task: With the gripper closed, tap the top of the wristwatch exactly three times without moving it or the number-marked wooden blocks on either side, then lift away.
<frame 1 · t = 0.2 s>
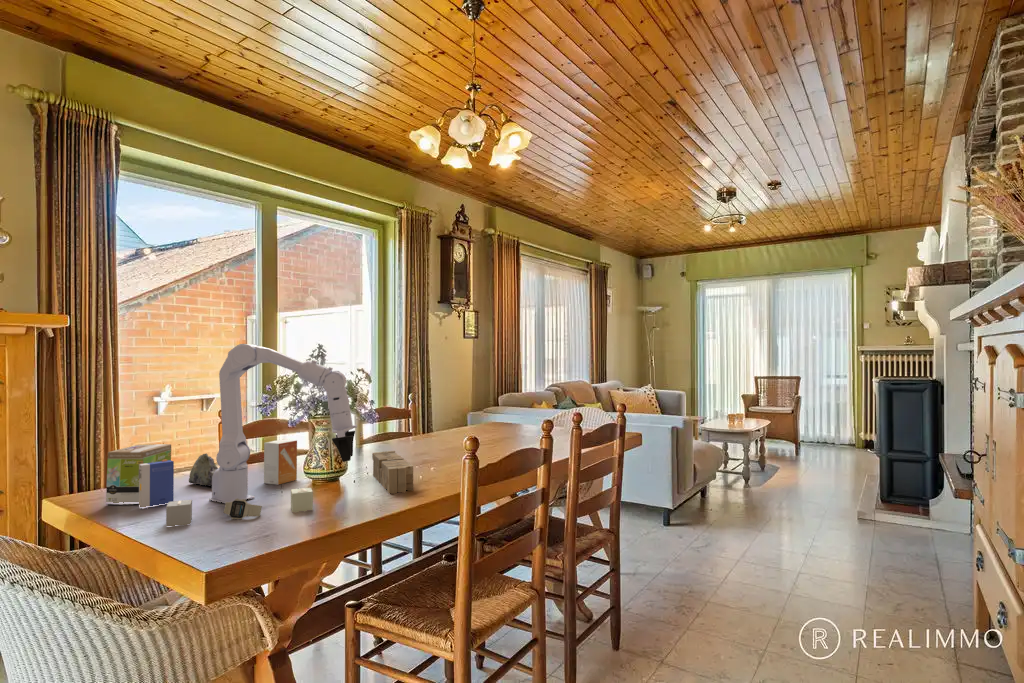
hand: (347, 458, 166), 10 cm above the table, tool pointing down, fingers open, 7 cm apart
small box: (280, 482, 184), on the table
block marked 1: (179, 523, 139), on the table
blue carton: (156, 506, 156), on the table
tea box: (139, 499, 163), on the table
block tower: (392, 484, 182), on the table
wristwatch: (243, 517, 145), on the table
block marked 7: (301, 509, 151), on the table
mineral rock: (205, 486, 179), on the table
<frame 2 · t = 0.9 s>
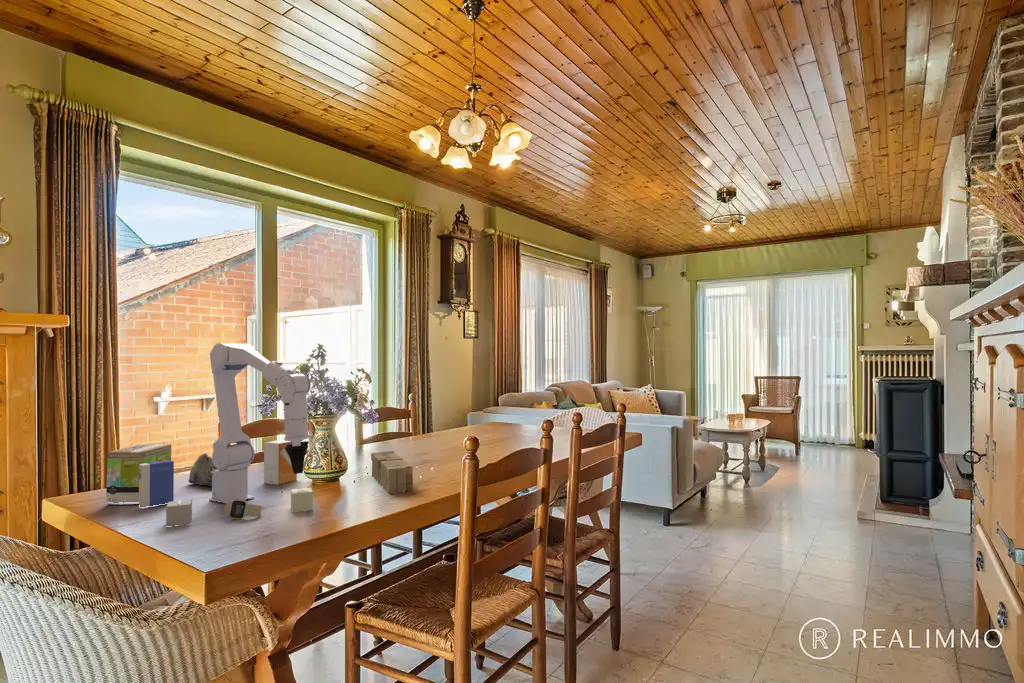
hand: (298, 471, 151), 10 cm above the table, tool pointing down, fingers open, 7 cm apart
nothing on the table moved.
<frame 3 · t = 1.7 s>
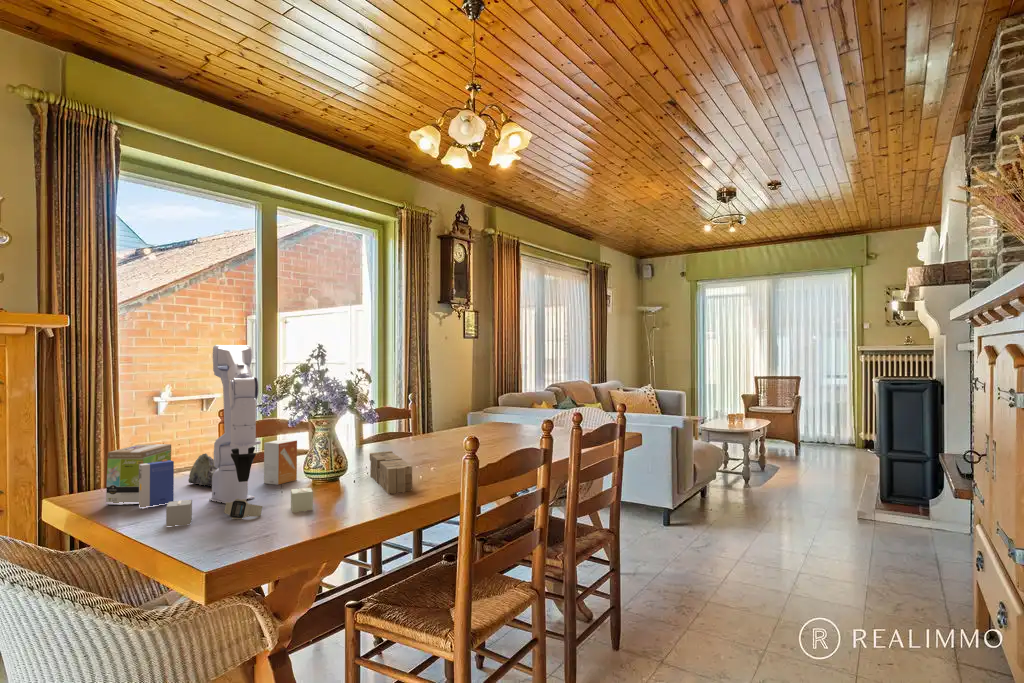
hand: (243, 478, 145), 9 cm above the table, tool pointing down, fingers open, 7 cm apart
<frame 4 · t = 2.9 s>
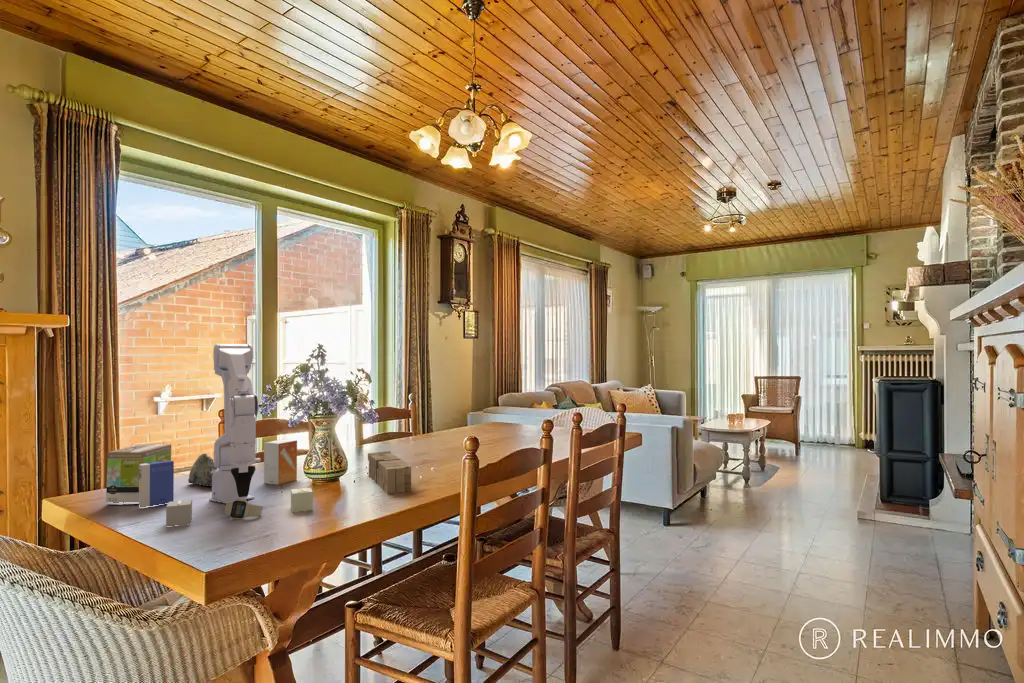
hand: (243, 496, 145), 5 cm above the table, tool pointing down, fingers closed
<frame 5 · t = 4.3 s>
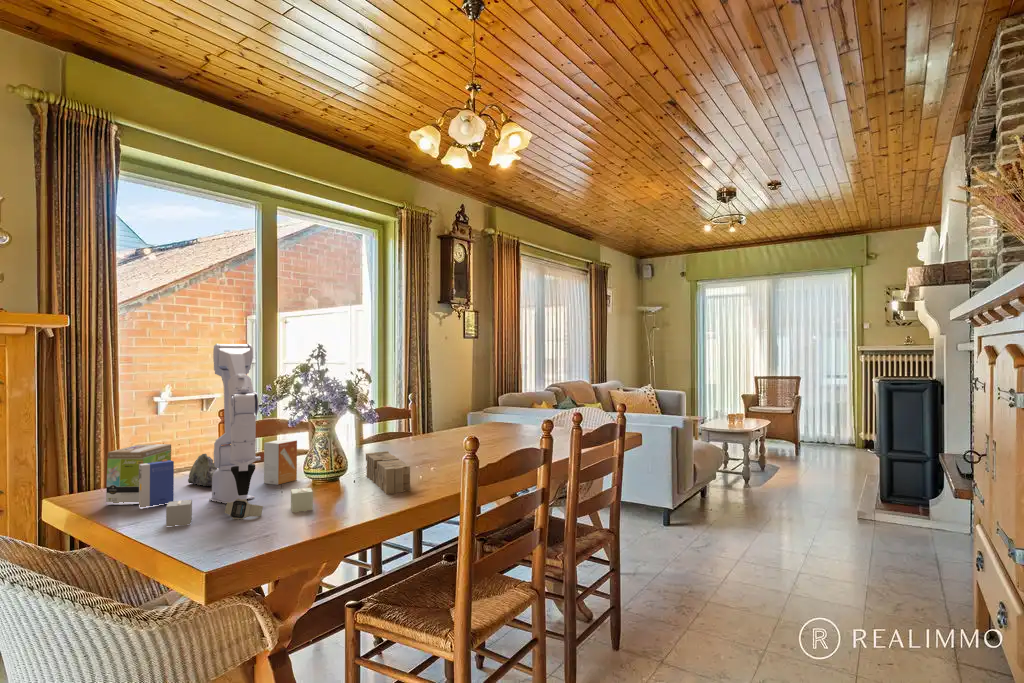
hand: (243, 494, 145), 5 cm above the table, tool pointing down, fingers closed
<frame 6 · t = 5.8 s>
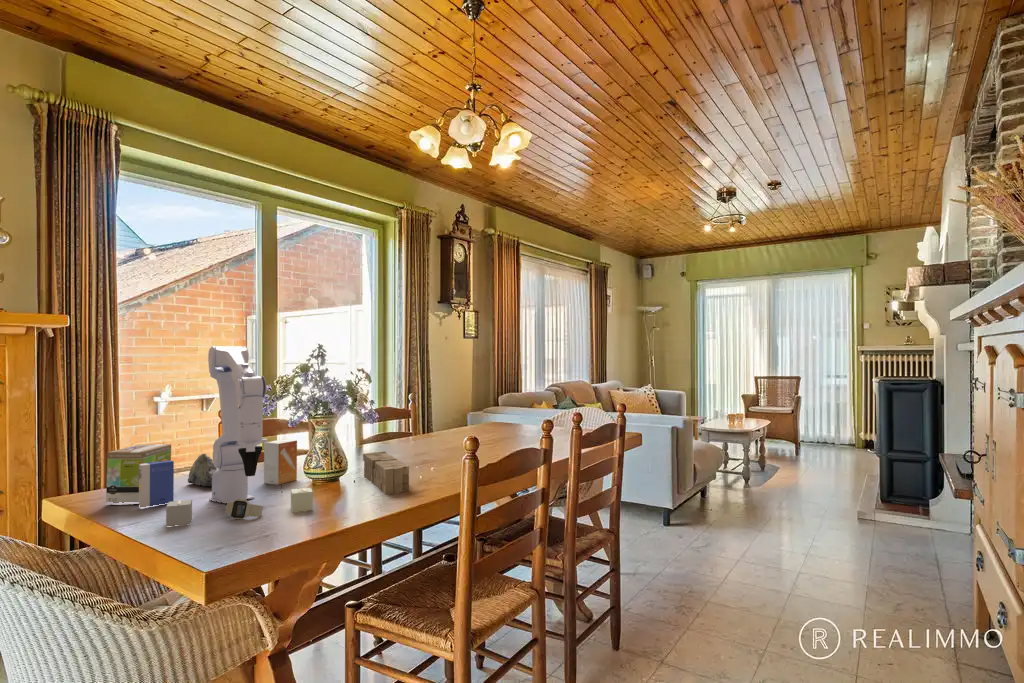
hand: (250, 475, 148), 10 cm above the table, tool pointing down, fingers closed
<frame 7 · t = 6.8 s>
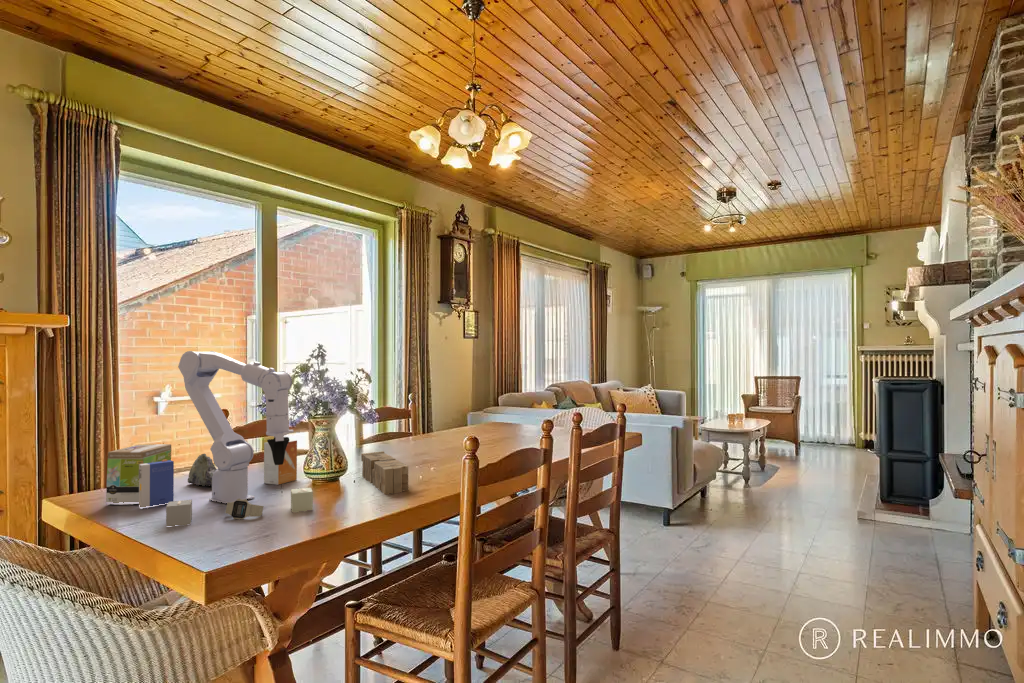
hand: (278, 464, 159), 10 cm above the table, tool pointing down, fingers closed
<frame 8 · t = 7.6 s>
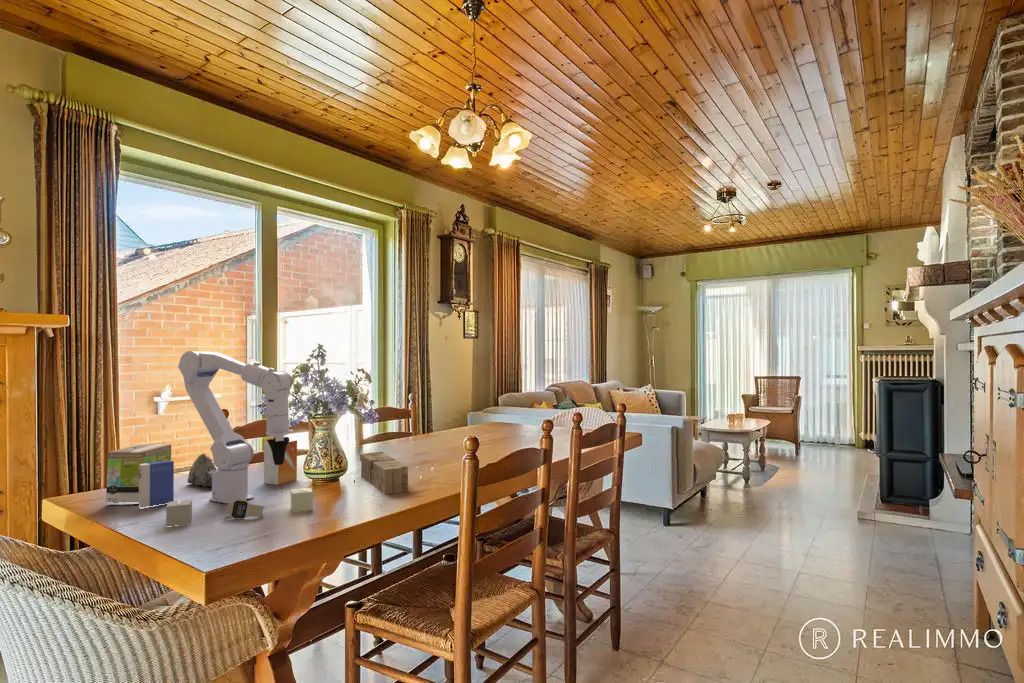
hand: (278, 464, 159), 10 cm above the table, tool pointing down, fingers closed
at the end: wristwatch moved 0.7 cm from its start; block marked 1 moved 0.1 cm from its start; block marked 7 moved 0.1 cm from its start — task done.
